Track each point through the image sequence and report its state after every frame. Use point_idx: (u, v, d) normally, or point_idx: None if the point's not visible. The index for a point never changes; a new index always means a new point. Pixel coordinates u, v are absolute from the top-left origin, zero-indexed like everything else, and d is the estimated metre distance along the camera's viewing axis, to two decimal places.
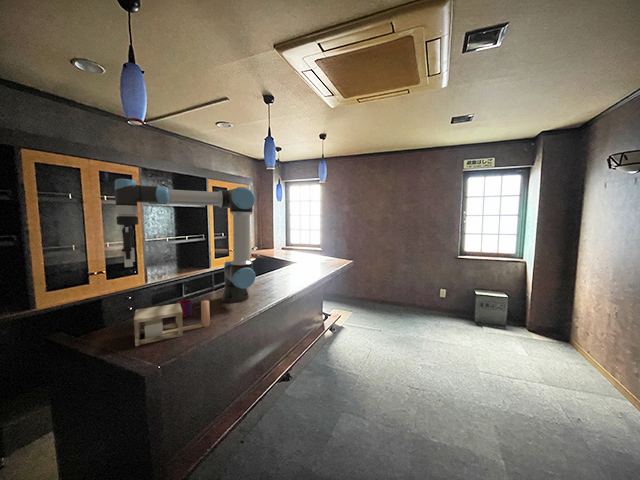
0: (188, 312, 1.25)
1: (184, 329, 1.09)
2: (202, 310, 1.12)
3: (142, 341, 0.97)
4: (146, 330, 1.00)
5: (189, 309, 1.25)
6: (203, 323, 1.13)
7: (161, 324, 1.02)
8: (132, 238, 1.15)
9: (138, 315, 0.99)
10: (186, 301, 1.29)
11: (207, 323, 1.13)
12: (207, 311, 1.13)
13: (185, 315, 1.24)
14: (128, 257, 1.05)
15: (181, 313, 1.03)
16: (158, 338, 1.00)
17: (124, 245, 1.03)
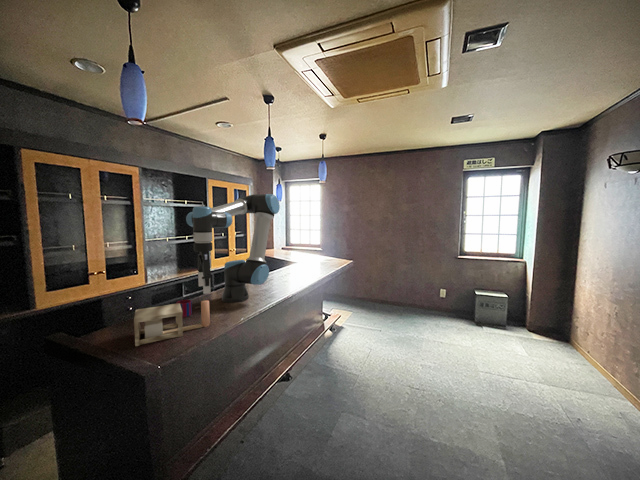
0: (188, 312, 1.25)
1: (184, 329, 1.09)
2: (202, 310, 1.12)
3: (142, 341, 0.97)
4: (146, 330, 1.00)
5: (189, 309, 1.25)
6: (203, 323, 1.13)
7: (161, 324, 1.02)
8: None
9: (138, 315, 0.99)
10: (186, 301, 1.29)
11: (207, 323, 1.13)
12: (207, 311, 1.13)
13: (185, 315, 1.24)
14: (207, 284, 1.06)
15: (181, 313, 1.03)
16: (158, 338, 1.00)
17: (205, 273, 1.04)
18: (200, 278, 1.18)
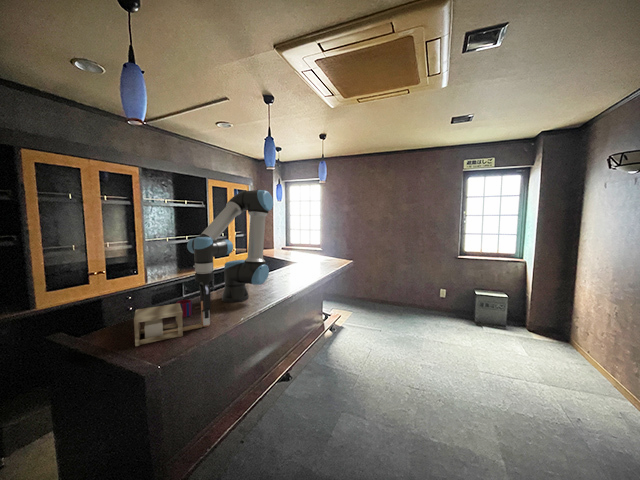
0: (188, 312, 1.25)
1: (184, 329, 1.09)
2: None
3: (142, 341, 0.97)
4: (146, 330, 1.00)
5: (189, 309, 1.25)
6: None
7: (161, 324, 1.02)
8: None
9: (138, 315, 0.99)
10: (186, 301, 1.29)
11: None
12: None
13: (185, 315, 1.24)
14: (207, 316, 1.11)
15: (181, 313, 1.03)
16: (158, 338, 1.00)
17: (205, 307, 1.09)
18: None
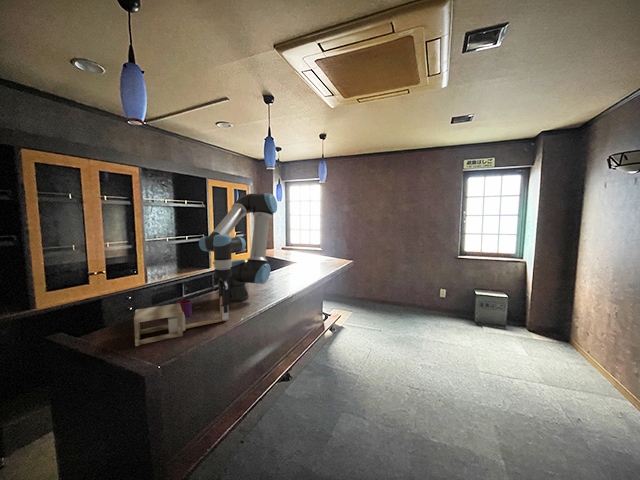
0: (188, 312, 1.25)
1: (204, 323, 1.13)
2: None
3: (142, 341, 0.97)
4: (170, 323, 1.04)
5: (189, 309, 1.25)
6: None
7: (184, 318, 1.07)
8: None
9: (138, 315, 0.99)
10: (186, 301, 1.29)
11: None
12: None
13: (185, 315, 1.24)
14: (226, 311, 1.16)
15: (181, 313, 1.03)
16: (158, 338, 1.00)
17: (224, 302, 1.13)
18: None
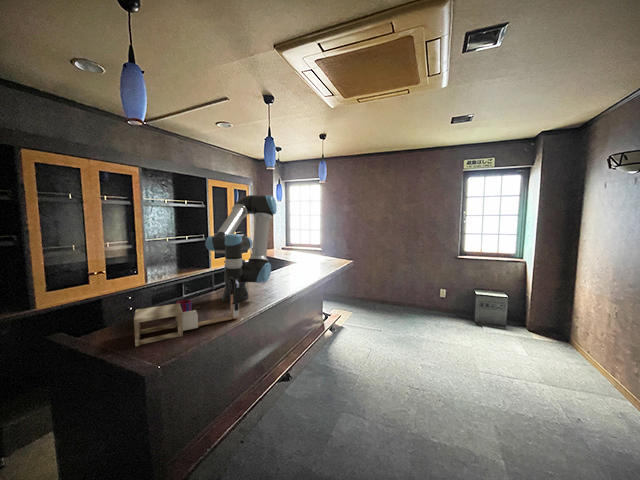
0: None
1: (216, 320, 1.16)
2: None
3: (142, 341, 0.97)
4: (183, 321, 1.07)
5: (189, 309, 1.25)
6: None
7: (196, 315, 1.09)
8: None
9: (138, 315, 0.99)
10: (186, 301, 1.29)
11: None
12: None
13: None
14: (237, 309, 1.18)
15: (181, 313, 1.03)
16: (158, 338, 1.00)
17: (235, 300, 1.16)
18: None
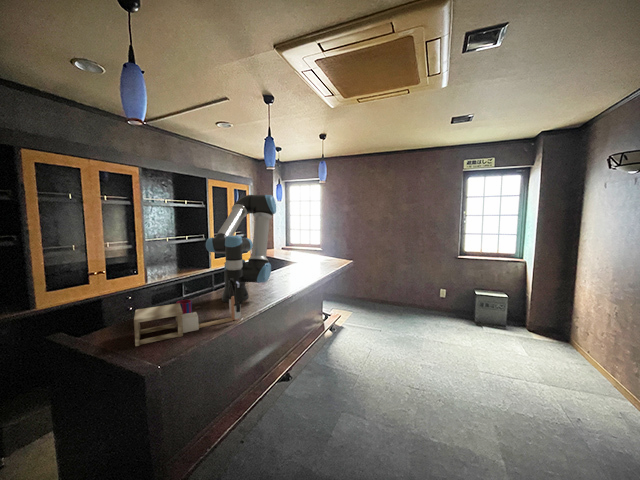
0: (188, 312, 1.25)
1: (216, 322, 1.16)
2: (232, 305, 1.20)
3: (142, 341, 0.97)
4: (184, 323, 1.07)
5: (189, 309, 1.25)
6: (233, 317, 1.20)
7: (197, 317, 1.09)
8: None
9: (138, 315, 0.99)
10: (186, 301, 1.29)
11: None
12: None
13: None
14: (238, 310, 1.16)
15: (181, 313, 1.03)
16: (158, 338, 1.00)
17: (237, 301, 1.14)
18: None
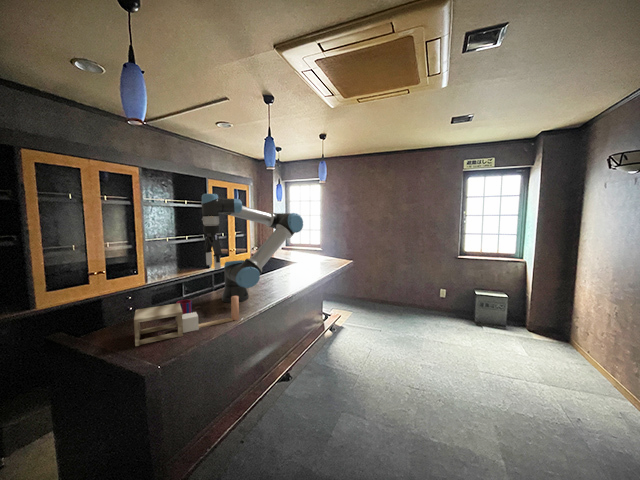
0: (188, 312, 1.25)
1: (216, 322, 1.16)
2: (232, 305, 1.20)
3: (142, 341, 0.97)
4: (184, 323, 1.07)
5: (189, 309, 1.25)
6: (233, 317, 1.20)
7: (197, 317, 1.09)
8: None
9: (138, 315, 0.99)
10: (186, 301, 1.29)
11: (237, 317, 1.21)
12: (237, 306, 1.20)
13: None
14: (218, 261, 1.23)
15: (181, 313, 1.03)
16: (158, 338, 1.00)
17: (216, 251, 1.20)
18: (207, 257, 1.33)
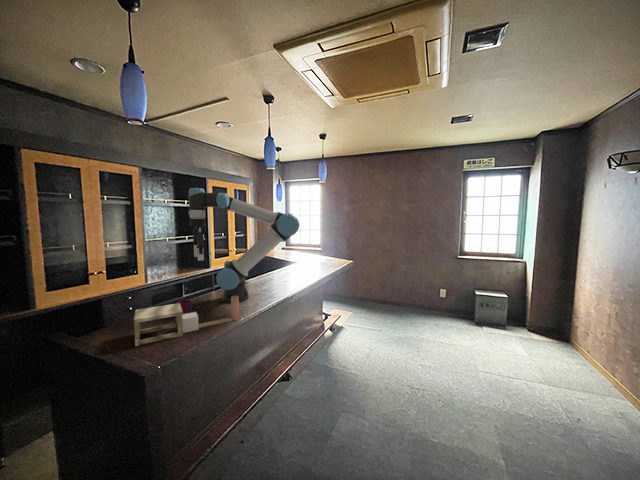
0: (188, 312, 1.25)
1: (216, 322, 1.16)
2: (232, 305, 1.20)
3: (142, 341, 0.97)
4: (184, 323, 1.07)
5: (189, 309, 1.25)
6: (233, 317, 1.20)
7: (197, 317, 1.09)
8: None
9: (138, 315, 0.99)
10: (186, 301, 1.29)
11: (237, 317, 1.21)
12: (237, 306, 1.20)
13: None
14: (201, 252, 1.28)
15: (181, 313, 1.03)
16: (158, 338, 1.00)
17: (199, 242, 1.26)
18: (195, 250, 1.39)
